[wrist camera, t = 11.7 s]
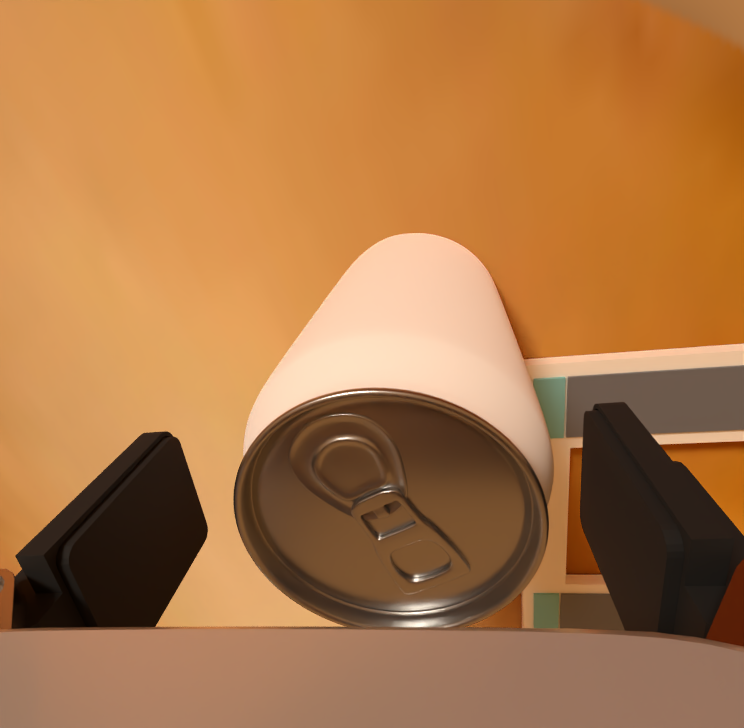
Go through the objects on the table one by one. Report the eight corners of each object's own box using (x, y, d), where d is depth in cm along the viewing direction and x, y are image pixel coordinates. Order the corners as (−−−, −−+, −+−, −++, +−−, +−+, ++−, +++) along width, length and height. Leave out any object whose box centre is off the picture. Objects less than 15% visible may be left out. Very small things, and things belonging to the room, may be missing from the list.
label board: (770, 633, 24) (780, 647, 23) (521, 628, 26) (524, 640, 25) (857, 335, 18) (873, 342, 17) (517, 359, 20) (520, 367, 19)
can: (445, 194, 17) (450, 285, 7) (528, 338, 19) (640, 592, 8) (305, 287, 20) (138, 470, 9) (392, 408, 21) (343, 682, 11)
